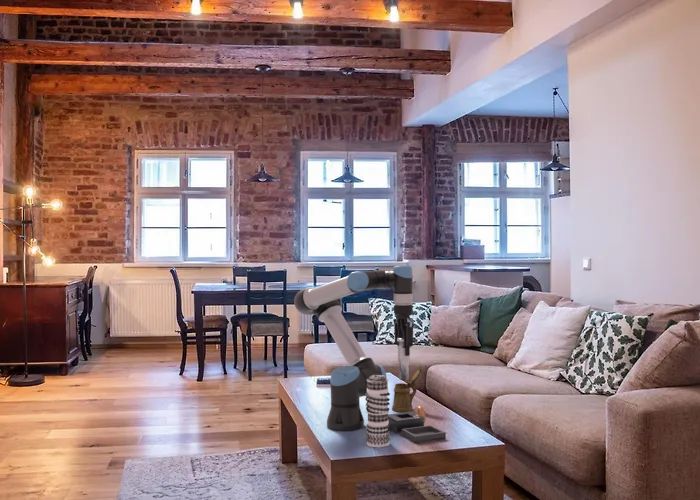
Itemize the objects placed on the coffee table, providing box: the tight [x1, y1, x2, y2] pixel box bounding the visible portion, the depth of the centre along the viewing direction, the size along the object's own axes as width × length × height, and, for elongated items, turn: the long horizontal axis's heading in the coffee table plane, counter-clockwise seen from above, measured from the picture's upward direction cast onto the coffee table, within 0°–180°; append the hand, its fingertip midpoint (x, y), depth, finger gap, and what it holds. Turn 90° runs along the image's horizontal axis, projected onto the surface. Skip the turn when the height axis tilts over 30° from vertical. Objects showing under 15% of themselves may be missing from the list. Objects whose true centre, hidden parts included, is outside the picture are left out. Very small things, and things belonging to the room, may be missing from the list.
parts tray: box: [401, 424, 447, 444], centre depth 247 cm, size 13×11×2 cm
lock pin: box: [397, 338, 409, 381], centre depth 259 cm, size 5×5×16 cm
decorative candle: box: [365, 375, 391, 448], centre depth 240 cm, size 9×9×25 cm
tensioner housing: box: [388, 405, 427, 434], centre depth 260 cm, size 15×10×8 cm
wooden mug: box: [391, 368, 423, 413], centre depth 290 cm, size 9×14×18 cm, turn 96°
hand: (403, 362), depth 259 cm, fingers closed on lock pin, 3 cm apart
